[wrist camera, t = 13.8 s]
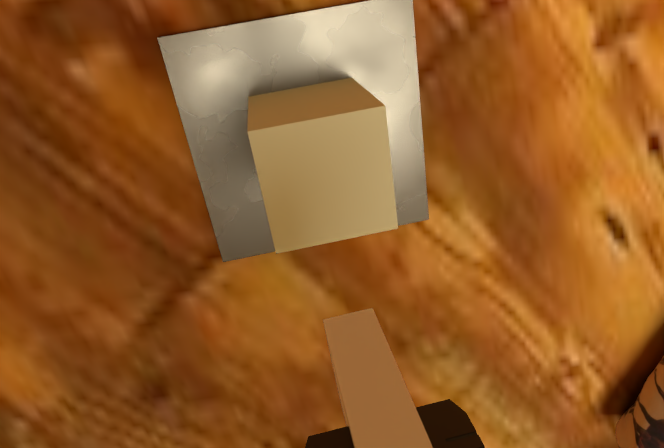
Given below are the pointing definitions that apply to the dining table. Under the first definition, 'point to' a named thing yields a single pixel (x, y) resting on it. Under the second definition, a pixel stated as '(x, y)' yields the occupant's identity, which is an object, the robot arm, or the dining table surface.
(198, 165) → the grey square plate
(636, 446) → the pencil case
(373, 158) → the beige rectangular block
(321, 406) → the dining table surface
